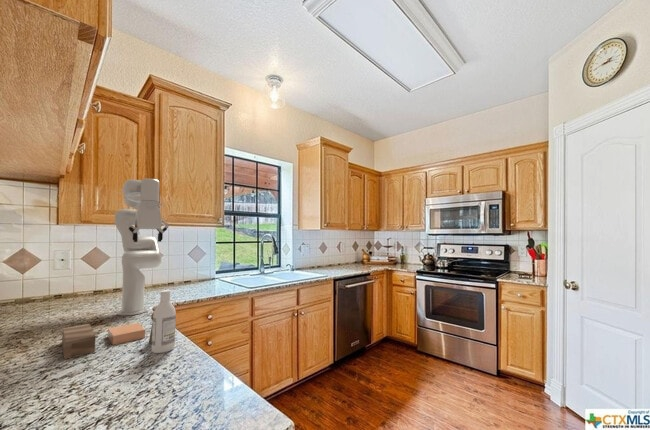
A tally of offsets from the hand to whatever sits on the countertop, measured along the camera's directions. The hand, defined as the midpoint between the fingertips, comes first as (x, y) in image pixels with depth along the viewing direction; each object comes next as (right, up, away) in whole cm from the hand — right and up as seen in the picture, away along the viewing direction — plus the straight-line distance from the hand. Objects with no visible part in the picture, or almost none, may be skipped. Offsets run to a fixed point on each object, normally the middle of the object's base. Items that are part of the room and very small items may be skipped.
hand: (147, 241), depth 129 cm
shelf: (-5, -35, -31) cm, 46 cm away
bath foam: (+26, -34, -33) cm, 54 cm away
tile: (+5, -36, -21) cm, 42 cm away
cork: (+20, -35, -25) cm, 48 cm away
